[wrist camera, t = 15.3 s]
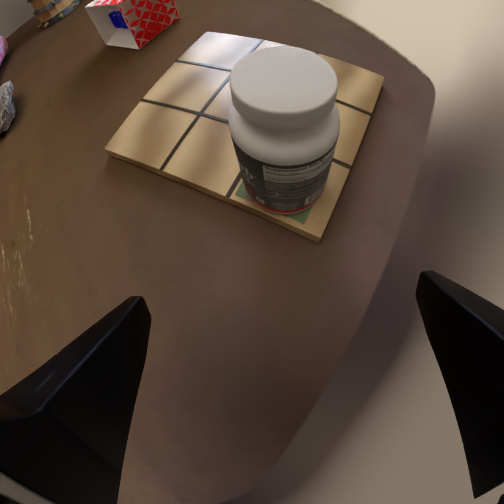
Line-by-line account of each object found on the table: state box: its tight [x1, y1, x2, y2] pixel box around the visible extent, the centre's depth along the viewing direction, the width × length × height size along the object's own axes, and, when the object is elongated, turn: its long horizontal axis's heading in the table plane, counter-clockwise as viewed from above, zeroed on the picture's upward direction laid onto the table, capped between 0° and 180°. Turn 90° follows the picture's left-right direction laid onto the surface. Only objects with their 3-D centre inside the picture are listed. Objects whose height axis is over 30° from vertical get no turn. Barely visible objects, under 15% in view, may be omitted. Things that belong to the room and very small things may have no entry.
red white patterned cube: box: [85, 0, 180, 49], centre depth 26 cm, size 8×8×8 cm
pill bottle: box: [229, 46, 340, 214], centre depth 16 cm, size 6×6×10 cm
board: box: [105, 32, 385, 243], centre depth 23 cm, size 20×18×1 cm
